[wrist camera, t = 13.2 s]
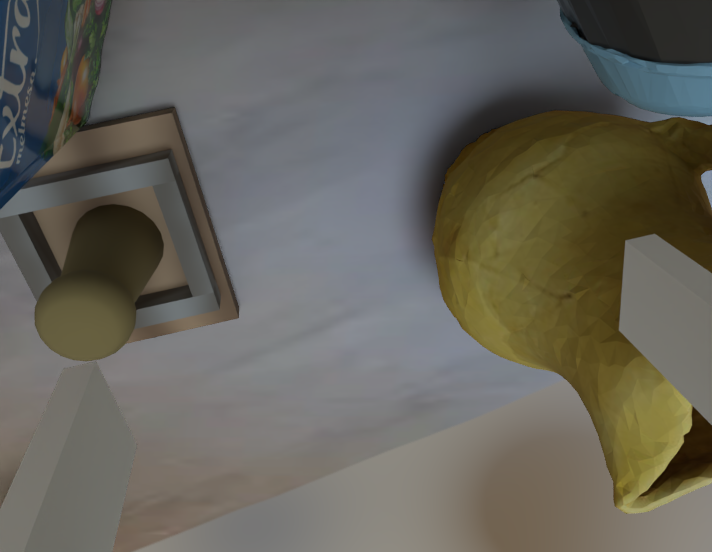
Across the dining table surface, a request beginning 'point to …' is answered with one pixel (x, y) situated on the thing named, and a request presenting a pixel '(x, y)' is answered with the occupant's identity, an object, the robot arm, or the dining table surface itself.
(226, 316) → the socket stand
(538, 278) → the pitcher
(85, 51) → the blue food package
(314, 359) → the dining table surface
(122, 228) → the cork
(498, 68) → the dining table surface
